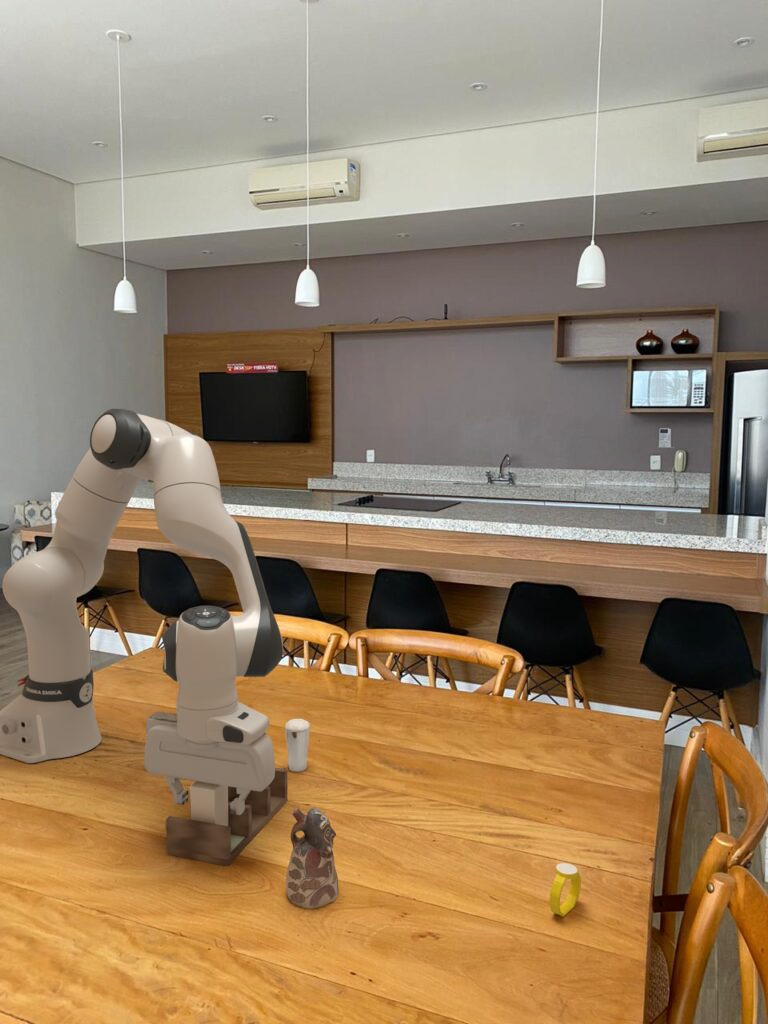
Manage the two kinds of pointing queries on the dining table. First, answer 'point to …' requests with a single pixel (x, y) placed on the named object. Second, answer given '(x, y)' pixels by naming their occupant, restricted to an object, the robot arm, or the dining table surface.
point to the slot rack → (227, 840)
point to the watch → (563, 873)
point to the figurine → (312, 861)
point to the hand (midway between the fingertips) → (209, 807)
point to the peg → (209, 803)
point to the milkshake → (297, 743)
